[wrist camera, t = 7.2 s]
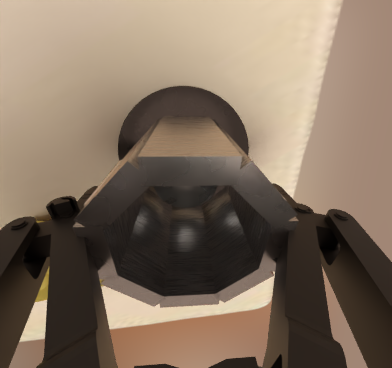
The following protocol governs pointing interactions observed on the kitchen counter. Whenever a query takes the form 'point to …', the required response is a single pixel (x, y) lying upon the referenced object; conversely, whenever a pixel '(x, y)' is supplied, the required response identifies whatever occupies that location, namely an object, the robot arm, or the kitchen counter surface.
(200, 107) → the duct stub
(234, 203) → the collar
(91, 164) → the kitchen counter surface
